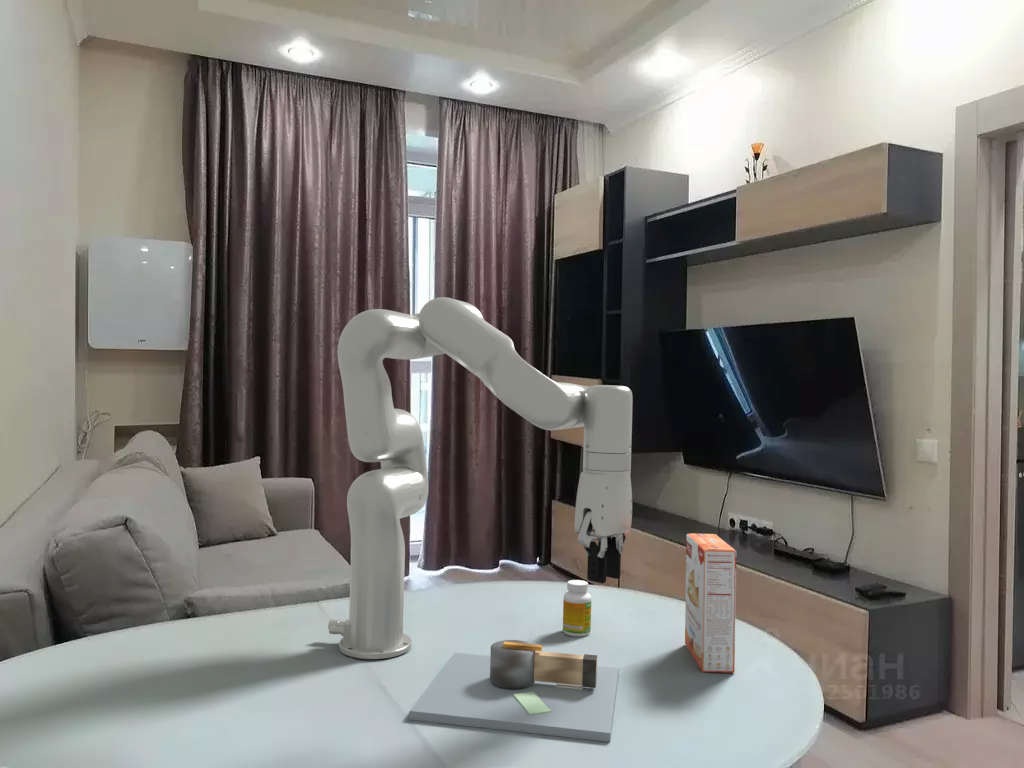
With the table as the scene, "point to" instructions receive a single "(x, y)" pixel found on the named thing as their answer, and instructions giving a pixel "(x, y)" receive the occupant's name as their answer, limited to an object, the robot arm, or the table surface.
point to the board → (518, 702)
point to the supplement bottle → (577, 609)
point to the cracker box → (710, 602)
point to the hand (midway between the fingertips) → (603, 578)
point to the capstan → (538, 666)
